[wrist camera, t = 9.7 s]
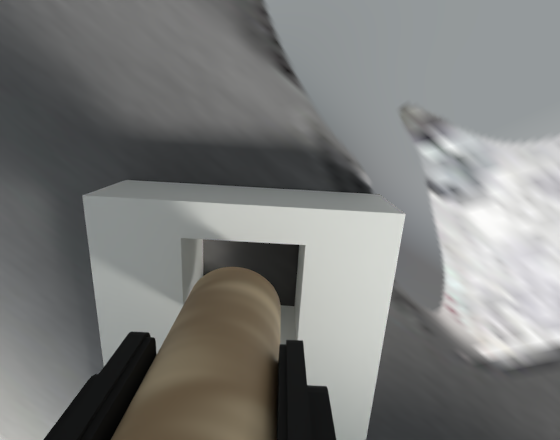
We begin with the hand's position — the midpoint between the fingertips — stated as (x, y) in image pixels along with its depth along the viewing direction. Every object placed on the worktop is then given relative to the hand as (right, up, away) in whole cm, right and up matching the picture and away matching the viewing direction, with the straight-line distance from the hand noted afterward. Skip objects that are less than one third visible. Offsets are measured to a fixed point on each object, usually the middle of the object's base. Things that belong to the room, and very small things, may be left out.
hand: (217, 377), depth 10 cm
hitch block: (0, -3, +10) cm, 11 cm away
